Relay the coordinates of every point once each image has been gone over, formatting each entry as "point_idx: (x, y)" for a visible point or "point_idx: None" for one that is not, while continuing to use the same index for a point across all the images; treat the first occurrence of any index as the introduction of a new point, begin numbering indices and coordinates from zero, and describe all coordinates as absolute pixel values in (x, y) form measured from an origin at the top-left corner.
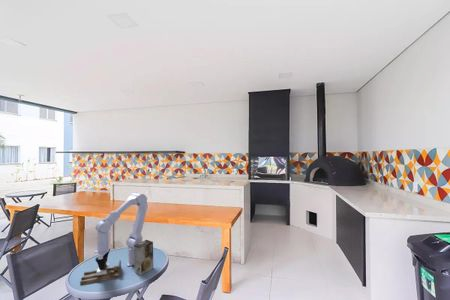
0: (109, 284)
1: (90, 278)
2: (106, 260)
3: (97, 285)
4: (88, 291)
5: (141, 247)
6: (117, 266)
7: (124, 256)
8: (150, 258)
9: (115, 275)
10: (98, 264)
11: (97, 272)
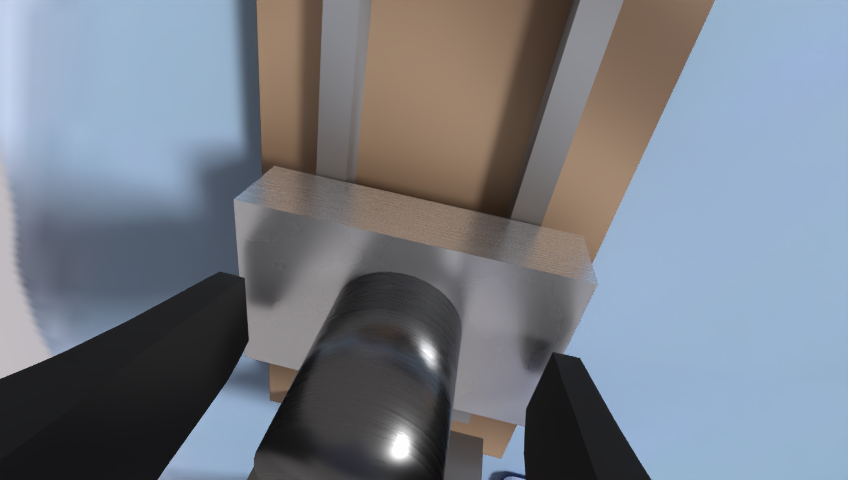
0: (157, 272)
1: (319, 38)
2: (529, 470)
3: (166, 142)
4: (22, 12)
5: None
6: None
7: None
8: None
9: (271, 366)
10: (25, 378)
11: (245, 209)
